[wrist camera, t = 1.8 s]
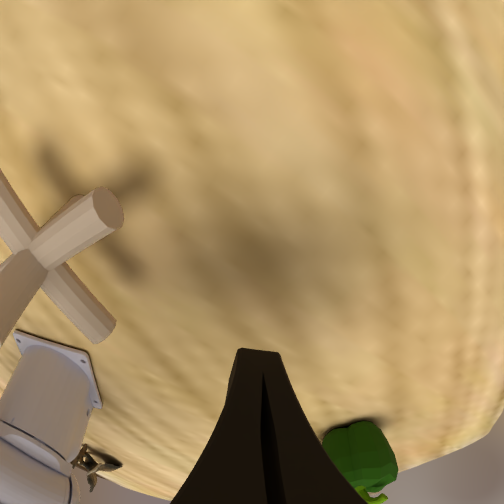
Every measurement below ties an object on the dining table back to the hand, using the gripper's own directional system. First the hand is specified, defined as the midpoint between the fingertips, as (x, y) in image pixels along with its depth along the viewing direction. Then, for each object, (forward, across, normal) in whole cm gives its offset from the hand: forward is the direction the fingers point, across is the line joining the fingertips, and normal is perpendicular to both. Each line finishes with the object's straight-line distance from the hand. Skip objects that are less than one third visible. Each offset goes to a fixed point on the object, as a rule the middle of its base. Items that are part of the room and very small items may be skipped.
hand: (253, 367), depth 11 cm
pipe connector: (+9, +10, 0) cm, 13 cm away
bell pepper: (+9, -16, +22) cm, 29 cm away
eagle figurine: (+9, +15, +42) cm, 45 cm away
